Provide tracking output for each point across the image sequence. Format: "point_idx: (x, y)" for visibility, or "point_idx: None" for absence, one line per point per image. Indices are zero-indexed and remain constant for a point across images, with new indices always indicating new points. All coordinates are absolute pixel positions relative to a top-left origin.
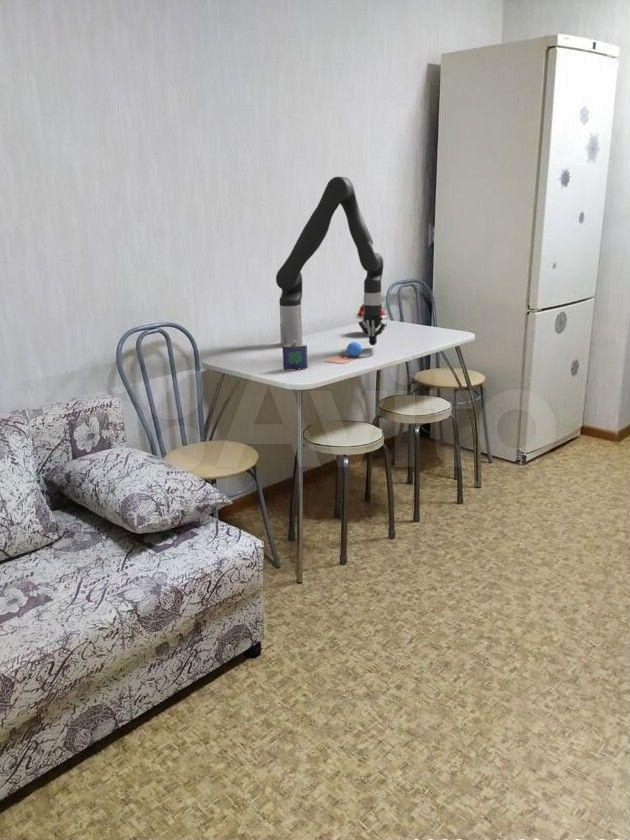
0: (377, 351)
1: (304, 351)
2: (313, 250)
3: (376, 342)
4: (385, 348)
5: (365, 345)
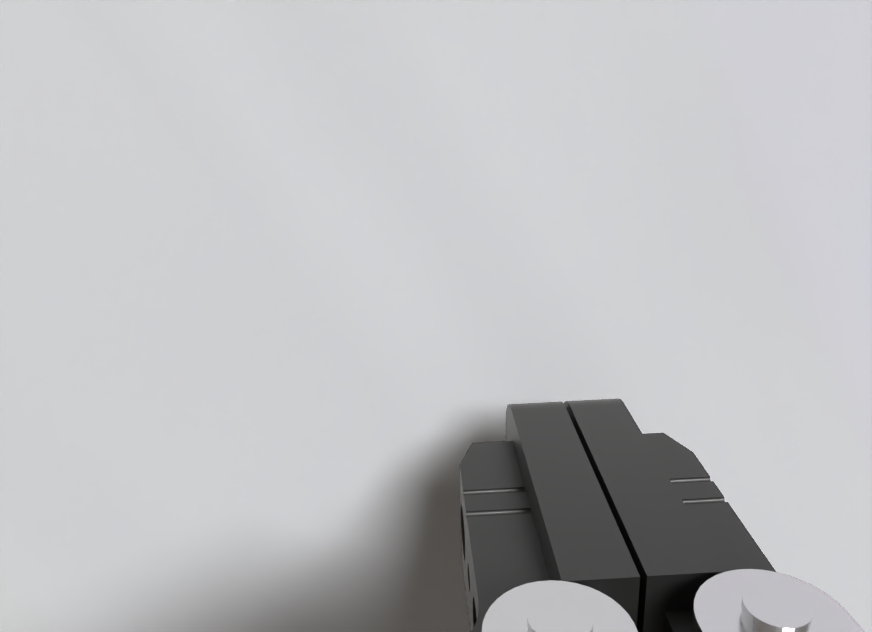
0: None
1: None
2: None
3: (687, 454)
4: (863, 255)
5: (129, 205)
